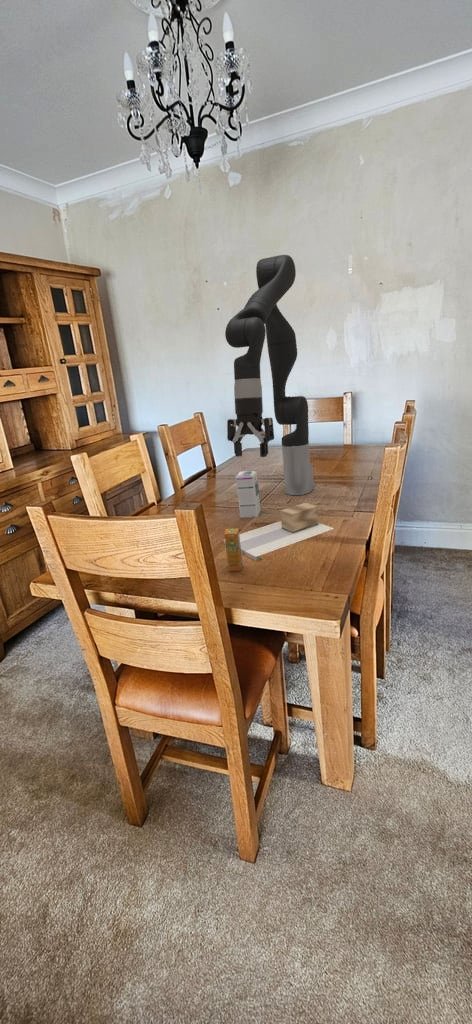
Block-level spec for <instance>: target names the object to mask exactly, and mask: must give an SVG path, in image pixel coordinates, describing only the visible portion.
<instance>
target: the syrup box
mask: <svg viewBox="0 0 472 1024" xmlns="http://www.w3.org/2000/svg"><path fill="white" fill-rule="evenodd" d="M235 484H236V491H237V501H238V507H239V516H240V519H241V518H242V519H243V518H245V519H246V518H259V516H260V515H261V512H262V506H261V499H260V498H261V497H260V490H259V489H260V488H259V479H258V471H257V470H244V471H239V472H238V474H236V475H235Z"/></svg>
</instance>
